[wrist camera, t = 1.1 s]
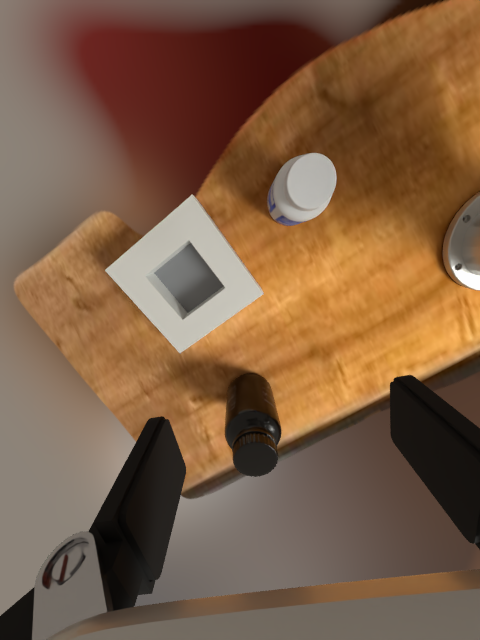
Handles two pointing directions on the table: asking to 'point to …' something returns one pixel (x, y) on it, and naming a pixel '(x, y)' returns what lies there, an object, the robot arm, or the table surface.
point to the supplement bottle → (252, 425)
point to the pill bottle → (301, 189)
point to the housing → (185, 276)
